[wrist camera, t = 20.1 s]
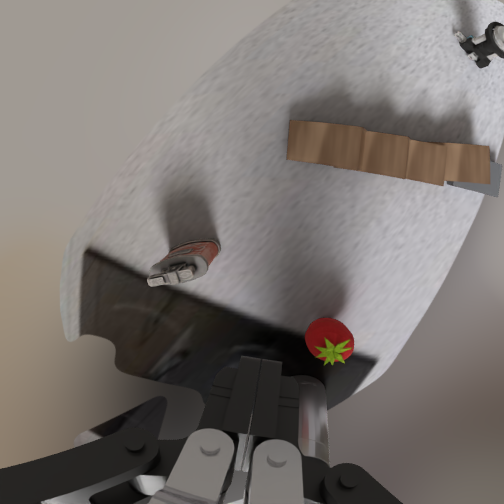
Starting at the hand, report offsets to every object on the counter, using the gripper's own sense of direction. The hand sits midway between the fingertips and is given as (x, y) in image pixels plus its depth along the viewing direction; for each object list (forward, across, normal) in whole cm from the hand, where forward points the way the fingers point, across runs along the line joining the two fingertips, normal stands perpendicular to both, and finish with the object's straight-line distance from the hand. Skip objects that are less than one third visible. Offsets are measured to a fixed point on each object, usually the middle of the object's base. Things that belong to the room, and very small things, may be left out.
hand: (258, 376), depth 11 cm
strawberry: (+32, -9, +16) cm, 37 cm away
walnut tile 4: (+31, -18, -10) cm, 37 cm away
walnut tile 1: (+31, 0, -9) cm, 32 cm away
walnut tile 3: (+31, -11, -9) cm, 34 cm away
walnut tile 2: (+31, -6, -9) cm, 33 cm away
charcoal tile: (+31, -23, -10) cm, 40 cm away
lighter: (+32, +12, +8) cm, 35 cm away
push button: (+32, -25, -30) cm, 51 cm away
